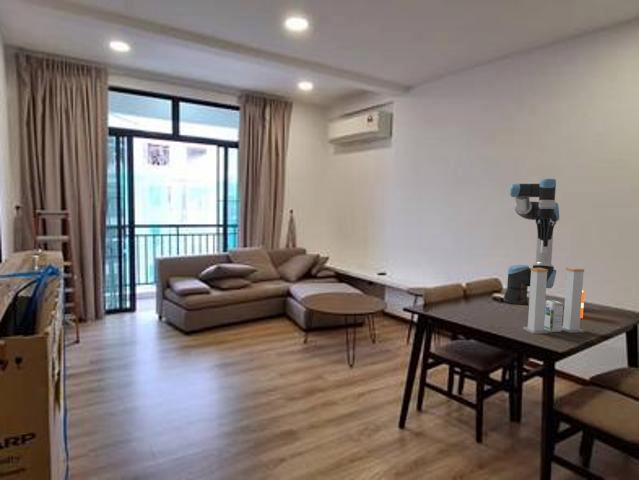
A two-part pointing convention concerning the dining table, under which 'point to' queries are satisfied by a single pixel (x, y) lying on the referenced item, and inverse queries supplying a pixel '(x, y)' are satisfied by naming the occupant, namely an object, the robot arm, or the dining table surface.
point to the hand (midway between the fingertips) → (543, 252)
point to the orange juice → (582, 304)
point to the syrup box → (553, 316)
